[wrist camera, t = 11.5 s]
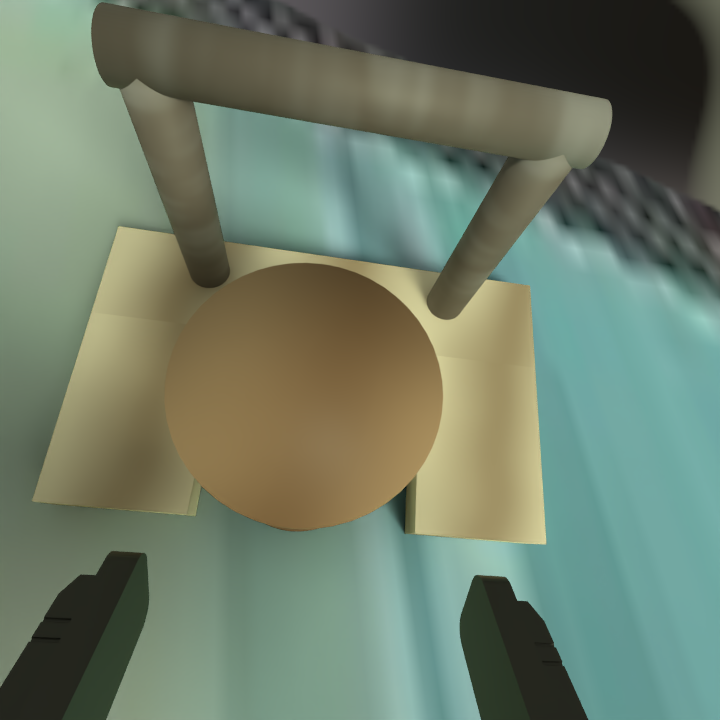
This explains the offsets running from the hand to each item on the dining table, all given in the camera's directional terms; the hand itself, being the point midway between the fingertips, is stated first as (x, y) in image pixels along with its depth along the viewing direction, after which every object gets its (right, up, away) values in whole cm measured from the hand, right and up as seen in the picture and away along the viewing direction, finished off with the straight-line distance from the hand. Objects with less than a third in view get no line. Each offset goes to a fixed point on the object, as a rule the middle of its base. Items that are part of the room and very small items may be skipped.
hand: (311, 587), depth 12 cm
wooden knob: (-1, +2, +7) cm, 8 cm away
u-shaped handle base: (-1, +4, +8) cm, 9 cm away
